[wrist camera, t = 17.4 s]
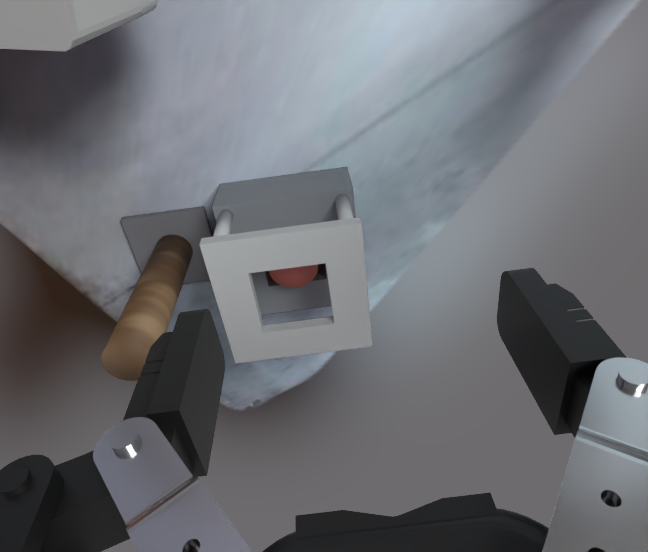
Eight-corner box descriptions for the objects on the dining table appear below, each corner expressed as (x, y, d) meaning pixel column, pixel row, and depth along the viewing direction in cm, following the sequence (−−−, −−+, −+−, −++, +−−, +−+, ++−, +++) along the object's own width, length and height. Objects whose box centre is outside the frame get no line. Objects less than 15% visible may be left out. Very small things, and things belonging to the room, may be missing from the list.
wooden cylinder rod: (187, 232, 47) (144, 340, 33) (197, 263, 49) (159, 377, 35) (151, 236, 47) (93, 346, 33) (162, 267, 49) (111, 383, 35)
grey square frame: (347, 166, 44) (361, 223, 35) (357, 273, 51) (372, 346, 41) (219, 184, 45) (199, 244, 35) (246, 288, 51) (235, 363, 42)
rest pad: (204, 206, 46) (203, 208, 45) (223, 275, 50) (223, 278, 50) (122, 217, 46) (120, 220, 45) (148, 285, 50) (147, 288, 50)
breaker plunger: (312, 216, 45) (314, 242, 41) (318, 256, 48) (320, 284, 43) (266, 222, 45) (263, 249, 41) (274, 262, 48) (273, 290, 44)
